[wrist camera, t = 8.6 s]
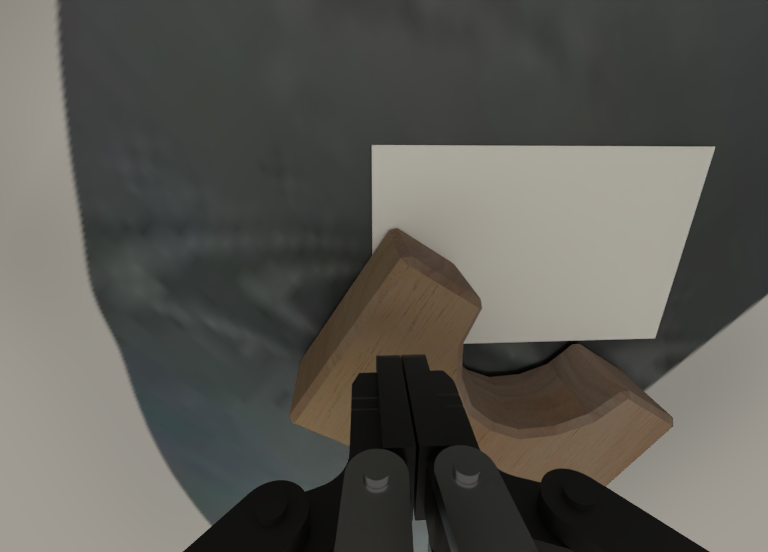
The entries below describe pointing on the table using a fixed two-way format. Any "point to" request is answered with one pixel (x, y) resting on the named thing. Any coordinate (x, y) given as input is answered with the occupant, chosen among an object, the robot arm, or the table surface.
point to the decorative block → (473, 373)
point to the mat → (548, 230)
